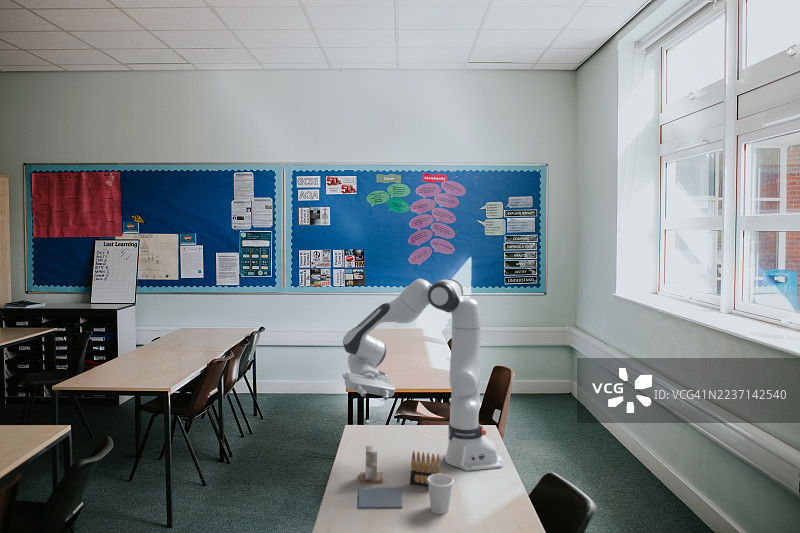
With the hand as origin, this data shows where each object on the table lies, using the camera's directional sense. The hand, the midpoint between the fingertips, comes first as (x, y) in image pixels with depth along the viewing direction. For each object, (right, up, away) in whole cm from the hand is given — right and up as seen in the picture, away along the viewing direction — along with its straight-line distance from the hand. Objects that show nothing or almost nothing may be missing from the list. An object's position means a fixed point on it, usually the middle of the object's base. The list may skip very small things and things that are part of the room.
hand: (375, 396), depth 194 cm
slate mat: (+3, -28, -23) cm, 36 cm away
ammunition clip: (+18, -28, -13) cm, 36 cm away
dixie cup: (+22, -29, -28) cm, 46 cm away
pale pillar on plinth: (-1, -27, -9) cm, 29 cm away
